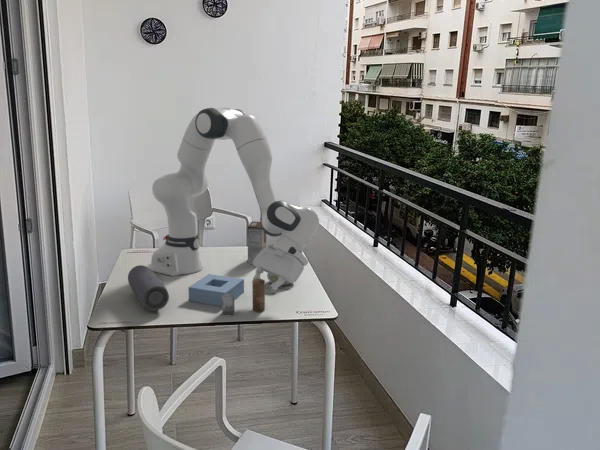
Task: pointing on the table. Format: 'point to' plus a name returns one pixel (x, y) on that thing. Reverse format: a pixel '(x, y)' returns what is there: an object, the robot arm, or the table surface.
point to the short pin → (228, 304)
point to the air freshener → (275, 279)
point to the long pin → (258, 295)
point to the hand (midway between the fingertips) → (263, 284)
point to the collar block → (215, 289)
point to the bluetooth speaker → (148, 288)
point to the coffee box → (255, 240)
